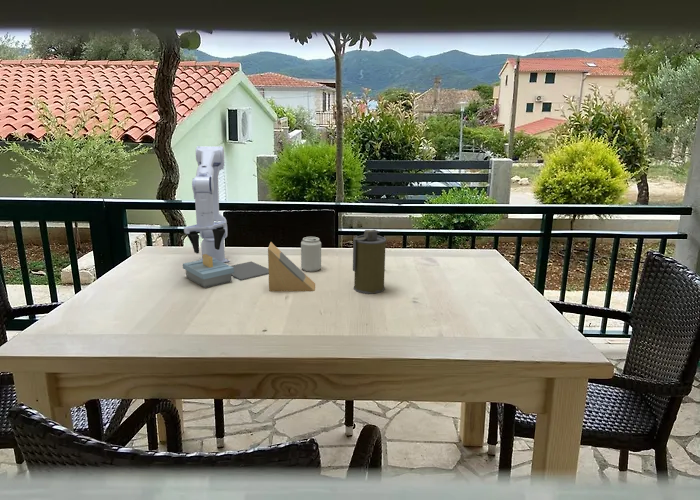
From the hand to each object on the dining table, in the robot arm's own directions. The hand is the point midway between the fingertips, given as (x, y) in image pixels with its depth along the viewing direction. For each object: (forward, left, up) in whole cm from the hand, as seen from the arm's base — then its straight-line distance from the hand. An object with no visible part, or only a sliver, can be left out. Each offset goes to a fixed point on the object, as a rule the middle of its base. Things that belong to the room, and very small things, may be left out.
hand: (207, 250), depth 178 cm
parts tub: (0, 0, -10) cm, 10 cm away
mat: (0, +15, -10) cm, 18 cm away
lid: (0, 0, -7) cm, 7 cm away
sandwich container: (+25, +18, -11) cm, 33 cm away
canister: (+42, +37, -11) cm, 57 cm away
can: (+13, +35, -11) cm, 39 cm away
